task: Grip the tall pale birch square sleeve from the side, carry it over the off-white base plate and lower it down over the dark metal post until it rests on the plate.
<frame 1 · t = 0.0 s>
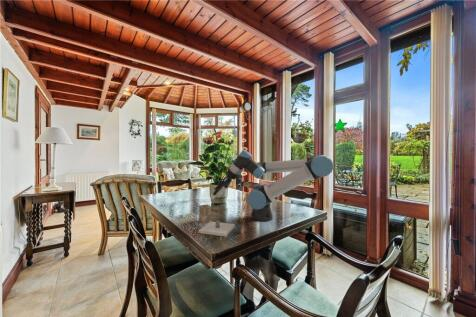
hand: (215, 196, 142), 15 cm above the table, tool tilted 35°, fingers open, 13 cm apart
birch sleeve: (205, 221, 137), on the table
base plate: (217, 229, 123), on the table
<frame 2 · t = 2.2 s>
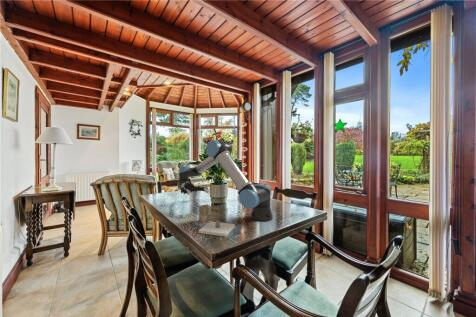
hand: (199, 192, 145), 17 cm above the table, tool horizontal, fingers open, 13 cm apart
nothing on the table moved.
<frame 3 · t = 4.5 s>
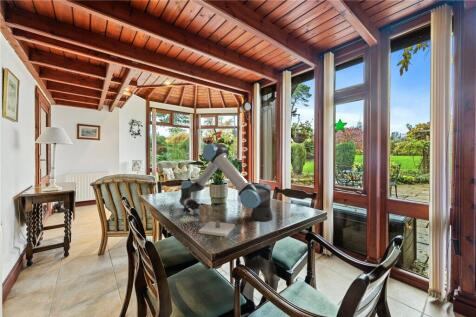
hand: (202, 211, 140), 6 cm above the table, tool horizontal, fingers open, 13 cm apart
nothing on the table moved.
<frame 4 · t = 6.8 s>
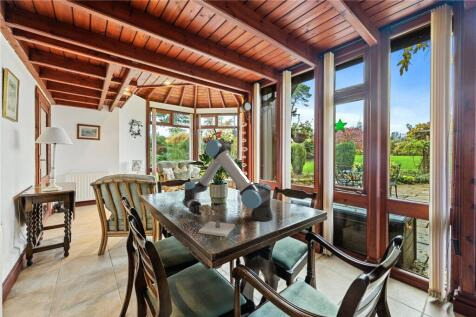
hand: (208, 214, 133), 6 cm above the table, tool horizontal, fingers closed on birch sleeve, 6 cm apart
birch sleeve: (205, 221, 137), on the table, touching gripper
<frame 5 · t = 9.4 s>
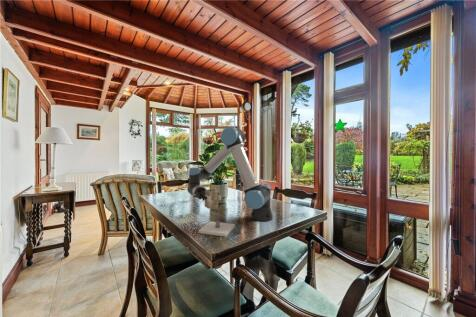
hand: (215, 198, 123), 18 cm above the table, tool horizontal, fingers closed on birch sleeve, 6 cm apart
birch sleeve: (211, 206, 127), point 12 cm above the table, touching gripper
when the fingers open (8 cm above the table, at t = 11.7 s): birch sleeve stays where it is, resting on base plate.
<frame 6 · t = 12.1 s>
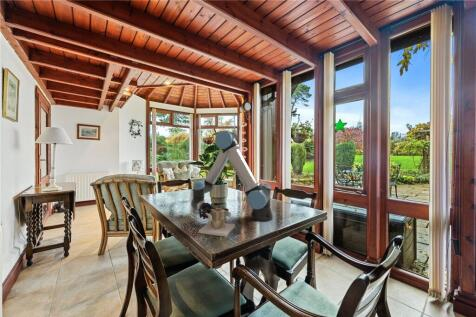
hand: (221, 216, 119), 8 cm above the table, tool horizontal, fingers open, 11 cm apart
birch sleeve: (217, 227, 123), point 1 cm above the table, touching base plate
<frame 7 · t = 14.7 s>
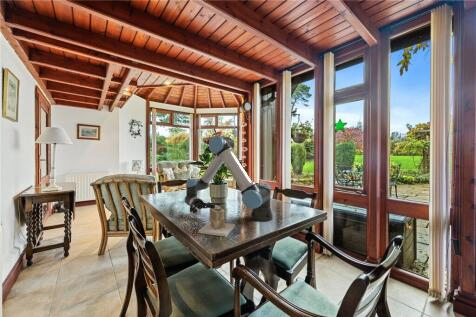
hand: (210, 210, 131), 9 cm above the table, tool horizontal, fingers open, 13 cm apart
nothing on the table moved.
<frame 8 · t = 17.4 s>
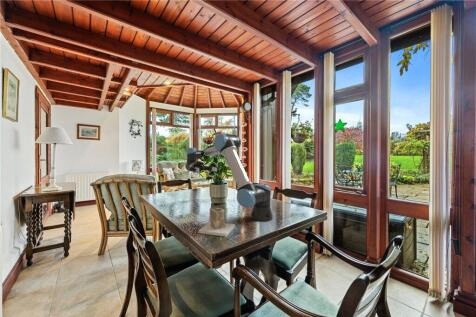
hand: (207, 169, 150), 32 cm above the table, tool horizontal, fingers open, 13 cm apart
nothing on the table moved.
at the end: birch sleeve 0.1 cm from the base plate (horizontally); birch sleeve point 1.5 cm above the table; birch sleeve tilted 0° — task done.
